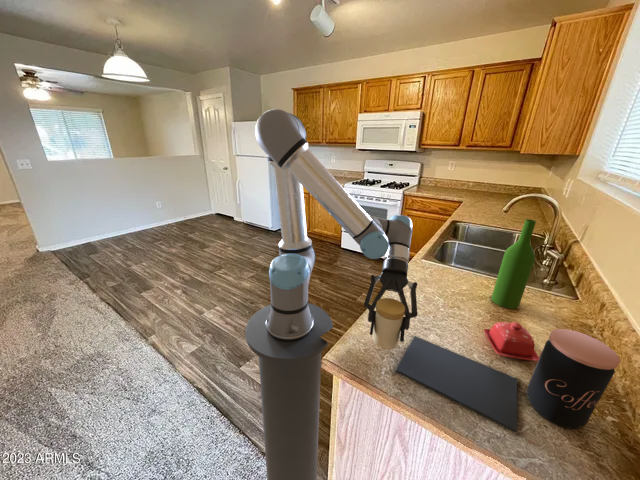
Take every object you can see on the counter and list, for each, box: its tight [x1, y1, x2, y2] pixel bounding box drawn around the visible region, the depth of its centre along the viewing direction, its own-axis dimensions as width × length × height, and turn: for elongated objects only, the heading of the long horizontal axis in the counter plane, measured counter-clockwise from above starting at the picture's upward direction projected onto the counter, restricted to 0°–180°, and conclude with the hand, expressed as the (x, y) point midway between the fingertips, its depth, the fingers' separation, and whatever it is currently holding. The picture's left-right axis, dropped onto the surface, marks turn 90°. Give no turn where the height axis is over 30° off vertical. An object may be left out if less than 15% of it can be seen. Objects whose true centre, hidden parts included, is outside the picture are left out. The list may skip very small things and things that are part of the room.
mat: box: [395, 335, 518, 433], centre depth 68 cm, size 26×16×1 cm, turn 55°
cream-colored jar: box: [371, 310, 403, 350], centre depth 76 cm, size 8×8×11 cm
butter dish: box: [483, 321, 540, 362], centre depth 77 cm, size 12×12×8 cm
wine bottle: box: [490, 218, 537, 310], centre depth 95 cm, size 9×9×32 cm
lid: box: [375, 297, 405, 320], centre depth 74 cm, size 8×8×2 cm
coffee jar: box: [526, 328, 621, 429], centre depth 57 cm, size 11×11×18 cm
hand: (386, 337), depth 74 cm, fingers closed on cream-colored jar, 8 cm apart
